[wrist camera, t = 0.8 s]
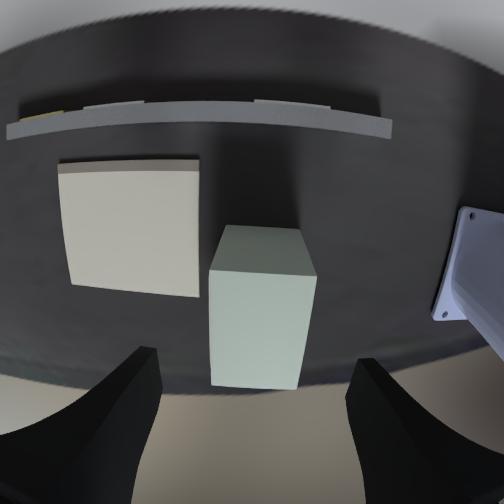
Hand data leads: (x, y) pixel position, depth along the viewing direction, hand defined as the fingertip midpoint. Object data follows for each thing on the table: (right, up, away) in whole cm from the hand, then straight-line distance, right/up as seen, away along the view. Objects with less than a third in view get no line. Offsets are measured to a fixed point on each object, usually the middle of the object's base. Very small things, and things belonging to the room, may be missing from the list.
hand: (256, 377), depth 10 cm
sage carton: (0, +3, +8) cm, 8 cm away
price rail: (-4, +12, +5) cm, 13 cm away
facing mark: (-8, +6, +7) cm, 12 cm away
